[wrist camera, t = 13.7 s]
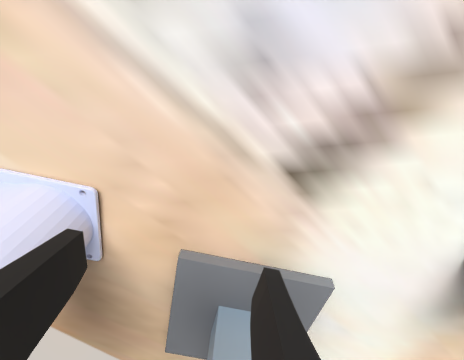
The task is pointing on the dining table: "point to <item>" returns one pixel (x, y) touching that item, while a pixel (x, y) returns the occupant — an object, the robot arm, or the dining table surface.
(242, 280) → the rubber mat
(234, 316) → the slate cube
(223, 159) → the dining table surface
